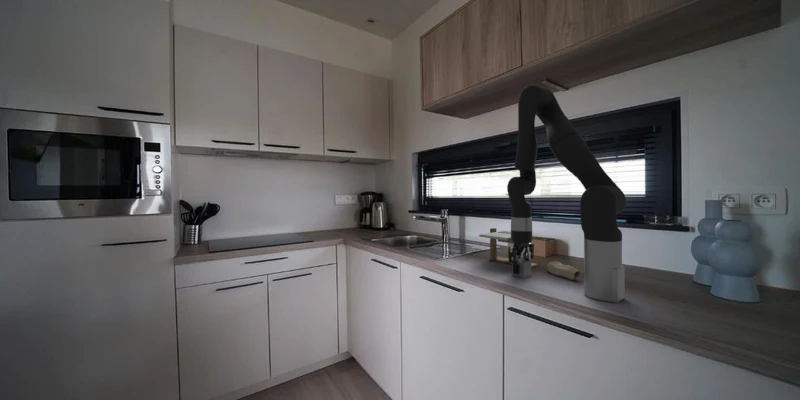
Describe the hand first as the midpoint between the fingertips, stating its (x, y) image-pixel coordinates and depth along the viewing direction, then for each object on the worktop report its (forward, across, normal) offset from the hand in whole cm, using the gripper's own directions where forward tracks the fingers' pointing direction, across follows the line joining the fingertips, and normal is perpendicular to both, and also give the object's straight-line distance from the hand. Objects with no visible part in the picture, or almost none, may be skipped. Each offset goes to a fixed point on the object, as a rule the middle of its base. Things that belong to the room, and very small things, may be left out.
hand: (521, 272), depth 107 cm
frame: (+1, +14, +13) cm, 19 cm away
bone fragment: (+2, +12, -10) cm, 16 cm away
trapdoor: (-8, +9, +13) cm, 18 cm away
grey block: (+1, 0, 0) cm, 1 cm away
